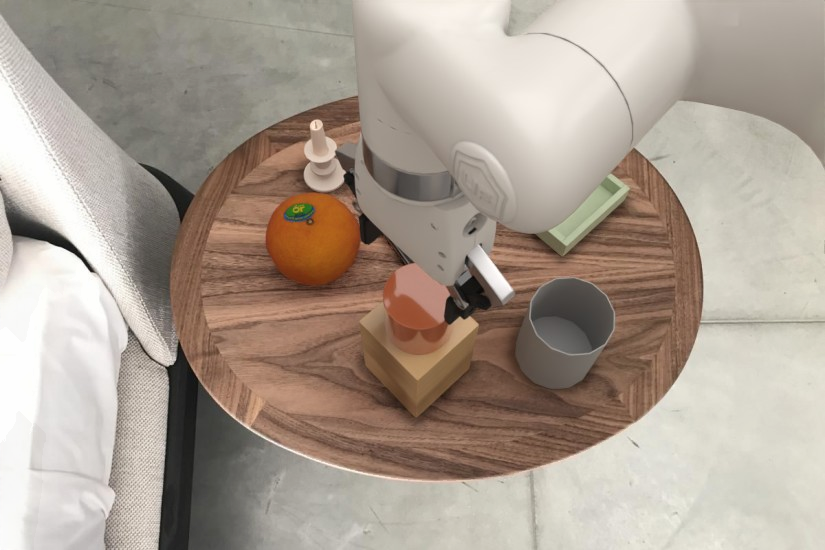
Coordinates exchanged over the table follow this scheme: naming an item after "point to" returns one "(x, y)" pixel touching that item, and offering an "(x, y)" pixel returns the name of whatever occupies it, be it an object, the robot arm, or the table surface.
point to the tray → (586, 215)
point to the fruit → (313, 238)
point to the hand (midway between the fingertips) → (417, 271)
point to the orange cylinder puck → (415, 311)
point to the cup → (564, 332)
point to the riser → (416, 361)
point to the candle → (322, 161)
